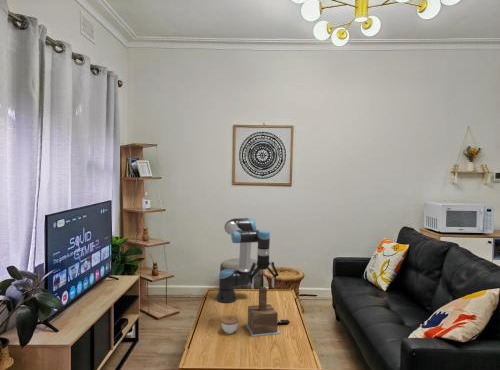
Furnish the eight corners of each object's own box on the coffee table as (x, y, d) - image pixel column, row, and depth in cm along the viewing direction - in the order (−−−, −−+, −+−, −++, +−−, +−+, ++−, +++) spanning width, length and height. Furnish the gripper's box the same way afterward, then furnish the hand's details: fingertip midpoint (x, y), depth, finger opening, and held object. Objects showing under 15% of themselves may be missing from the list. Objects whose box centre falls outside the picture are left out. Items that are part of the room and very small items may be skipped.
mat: (245, 324, 235) (245, 323, 235) (271, 321, 240) (271, 320, 240) (252, 336, 218) (252, 335, 218) (280, 333, 222) (280, 332, 222)
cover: (247, 324, 234) (248, 285, 233) (269, 321, 238) (270, 283, 237) (253, 334, 220) (254, 292, 218) (277, 332, 223) (278, 291, 222)
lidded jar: (229, 326, 232) (229, 312, 232) (241, 331, 225) (241, 316, 225) (217, 331, 224) (217, 317, 224) (230, 337, 217) (230, 322, 217)
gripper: (245, 257, 220) (245, 291, 221) (283, 255, 226) (283, 288, 228) (242, 254, 227) (242, 286, 229) (280, 252, 233) (279, 284, 235)
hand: (262, 287), depth 228 cm, fingers open, 13 cm apart
